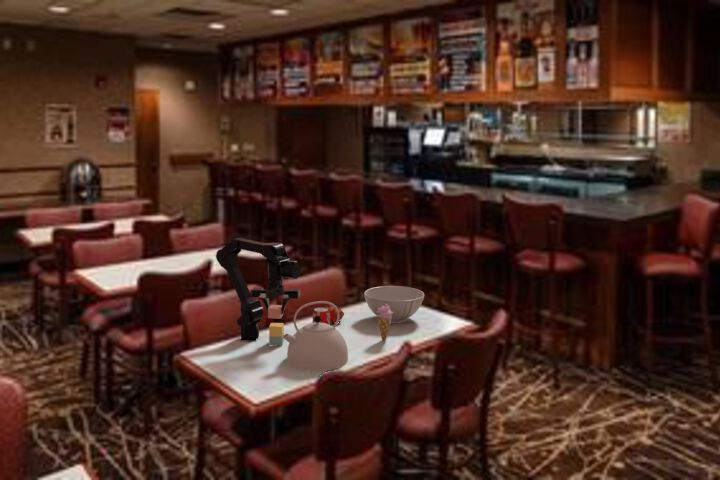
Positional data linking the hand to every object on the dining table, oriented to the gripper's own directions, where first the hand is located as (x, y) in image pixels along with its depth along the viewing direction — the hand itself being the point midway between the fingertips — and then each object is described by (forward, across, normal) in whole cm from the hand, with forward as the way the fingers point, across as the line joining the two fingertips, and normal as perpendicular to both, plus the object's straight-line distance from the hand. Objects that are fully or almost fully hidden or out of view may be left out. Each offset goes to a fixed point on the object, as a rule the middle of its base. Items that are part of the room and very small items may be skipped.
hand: (275, 314), depth 267 cm
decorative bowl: (+12, +46, +38) cm, 61 cm away
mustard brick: (+8, 0, 0) cm, 9 cm away
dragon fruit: (+13, +20, +31) cm, 39 cm away
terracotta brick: (+1, 0, 0) cm, 1 cm away
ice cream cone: (+12, +43, +8) cm, 46 cm away
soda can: (+13, +17, +10) cm, 23 cm away
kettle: (+13, +18, -17) cm, 27 cm away
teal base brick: (+12, 0, 0) cm, 13 cm away
